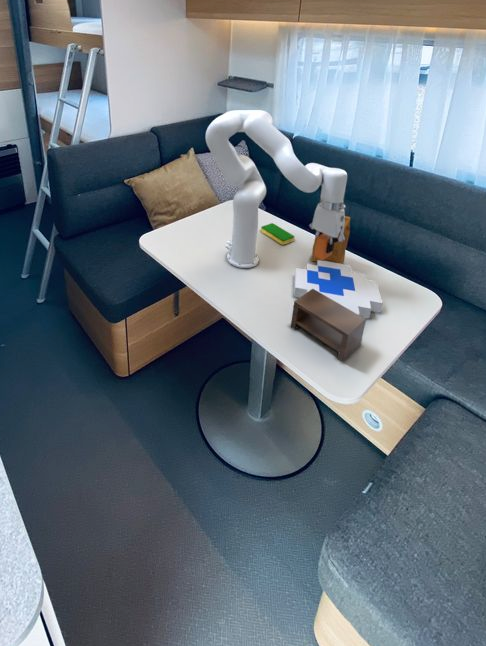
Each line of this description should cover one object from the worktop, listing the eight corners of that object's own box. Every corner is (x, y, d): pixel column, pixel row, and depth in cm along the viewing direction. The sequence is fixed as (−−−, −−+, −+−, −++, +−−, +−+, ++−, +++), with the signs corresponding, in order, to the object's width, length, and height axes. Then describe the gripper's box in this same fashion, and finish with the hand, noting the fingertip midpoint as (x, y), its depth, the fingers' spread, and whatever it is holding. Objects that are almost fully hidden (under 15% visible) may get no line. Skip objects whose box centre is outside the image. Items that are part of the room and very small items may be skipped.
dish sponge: (282, 245, 175) (283, 240, 174) (260, 231, 186) (260, 226, 185) (294, 240, 178) (294, 236, 177) (271, 227, 189) (272, 222, 188)
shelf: (290, 326, 129) (294, 301, 126) (308, 313, 135) (312, 288, 132) (342, 362, 117) (348, 335, 113) (360, 345, 123) (366, 319, 119)
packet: (314, 256, 148) (317, 236, 145) (323, 250, 151) (326, 231, 148) (322, 260, 145) (325, 240, 142) (331, 254, 149) (335, 235, 146)
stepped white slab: (294, 302, 135) (296, 256, 160) (293, 311, 136) (295, 265, 161) (386, 319, 128) (373, 269, 153) (384, 329, 129) (371, 277, 154)
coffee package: (319, 250, 172) (326, 203, 164) (347, 263, 163) (356, 214, 156) (306, 259, 165) (313, 211, 157) (335, 273, 157) (345, 222, 149)
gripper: (359, 209, 137) (350, 255, 144) (316, 192, 149) (310, 236, 155) (347, 215, 133) (339, 263, 139) (304, 198, 145) (298, 243, 151)
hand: (324, 249), depth 147 cm, fingers closed on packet, 3 cm apart
